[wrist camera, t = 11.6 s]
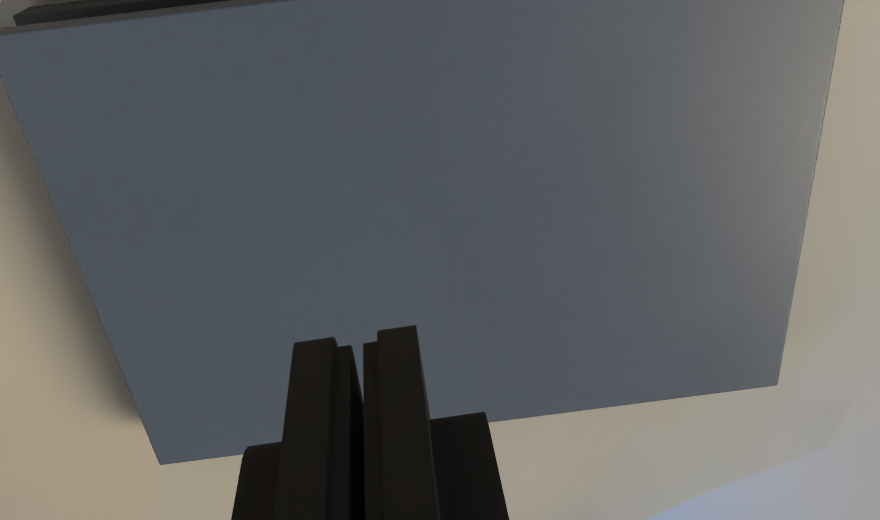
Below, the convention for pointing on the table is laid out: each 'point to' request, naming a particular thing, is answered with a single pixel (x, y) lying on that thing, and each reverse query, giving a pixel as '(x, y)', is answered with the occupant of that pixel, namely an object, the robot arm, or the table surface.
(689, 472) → the table surface
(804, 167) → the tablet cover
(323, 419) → the robot arm
